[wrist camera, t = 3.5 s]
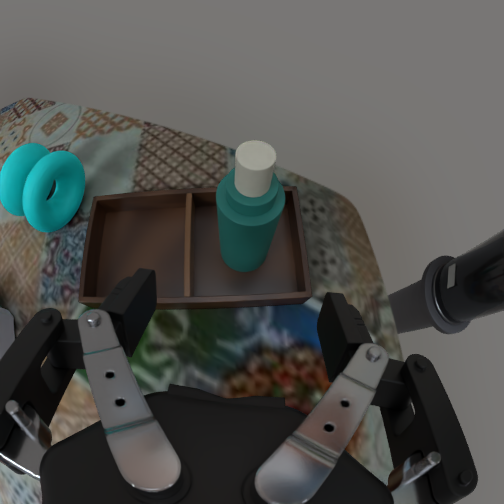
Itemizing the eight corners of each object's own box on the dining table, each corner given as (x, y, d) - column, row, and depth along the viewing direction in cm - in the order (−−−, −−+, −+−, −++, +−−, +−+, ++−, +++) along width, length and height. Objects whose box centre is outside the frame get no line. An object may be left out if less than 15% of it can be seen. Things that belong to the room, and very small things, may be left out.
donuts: (61, 248, 29) (16, 211, 20) (22, 224, 30) (-17, 189, 20) (99, 183, 33) (69, 135, 23) (56, 168, 33) (27, 126, 24)
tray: (290, 202, 33) (296, 186, 30) (303, 303, 29) (312, 296, 26) (104, 211, 31) (93, 196, 28) (93, 308, 27) (78, 302, 24)
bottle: (265, 228, 31) (291, 126, 17) (269, 271, 29) (304, 189, 15) (220, 229, 31) (213, 126, 16) (221, 273, 29) (212, 190, 14)
